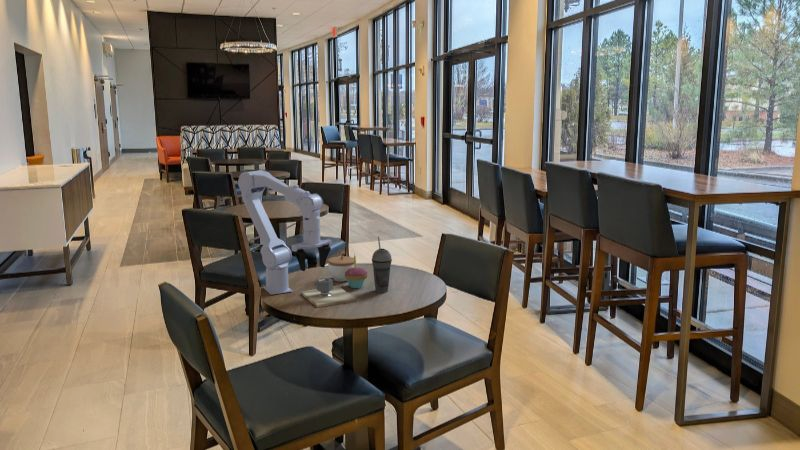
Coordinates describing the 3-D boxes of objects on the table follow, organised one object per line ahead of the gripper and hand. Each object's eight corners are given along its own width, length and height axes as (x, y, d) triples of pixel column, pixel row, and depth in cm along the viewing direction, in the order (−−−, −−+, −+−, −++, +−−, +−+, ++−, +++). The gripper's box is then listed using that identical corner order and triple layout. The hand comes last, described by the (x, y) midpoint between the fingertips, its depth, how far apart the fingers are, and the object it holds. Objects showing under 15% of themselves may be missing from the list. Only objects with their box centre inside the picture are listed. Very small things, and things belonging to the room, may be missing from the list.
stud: (316, 294, 205) (316, 289, 204) (328, 292, 207) (328, 288, 206) (321, 297, 201) (321, 293, 201) (333, 295, 203) (333, 291, 203)
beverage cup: (389, 294, 208) (389, 239, 204) (369, 293, 209) (369, 238, 205) (393, 288, 215) (394, 235, 211) (374, 287, 216) (374, 234, 212)
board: (301, 294, 208) (301, 291, 208) (338, 288, 214) (338, 286, 214) (317, 307, 194) (317, 304, 194) (356, 301, 200) (356, 298, 200)
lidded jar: (354, 283, 221) (354, 259, 219) (326, 283, 221) (325, 258, 219) (357, 275, 231) (357, 252, 229) (330, 275, 231) (329, 252, 230)
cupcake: (342, 284, 220) (341, 253, 217) (363, 282, 222) (363, 251, 220) (348, 291, 212) (348, 258, 209) (370, 288, 215) (370, 256, 212)
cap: (326, 286, 207) (326, 276, 206) (335, 290, 203) (334, 280, 202) (314, 289, 204) (314, 278, 203) (322, 292, 200) (322, 282, 199)
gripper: (298, 234, 192) (299, 274, 195) (336, 229, 201) (336, 267, 204) (288, 231, 198) (289, 270, 201) (325, 226, 207) (326, 263, 209)
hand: (312, 268), depth 203 cm, fingers open, 7 cm apart
